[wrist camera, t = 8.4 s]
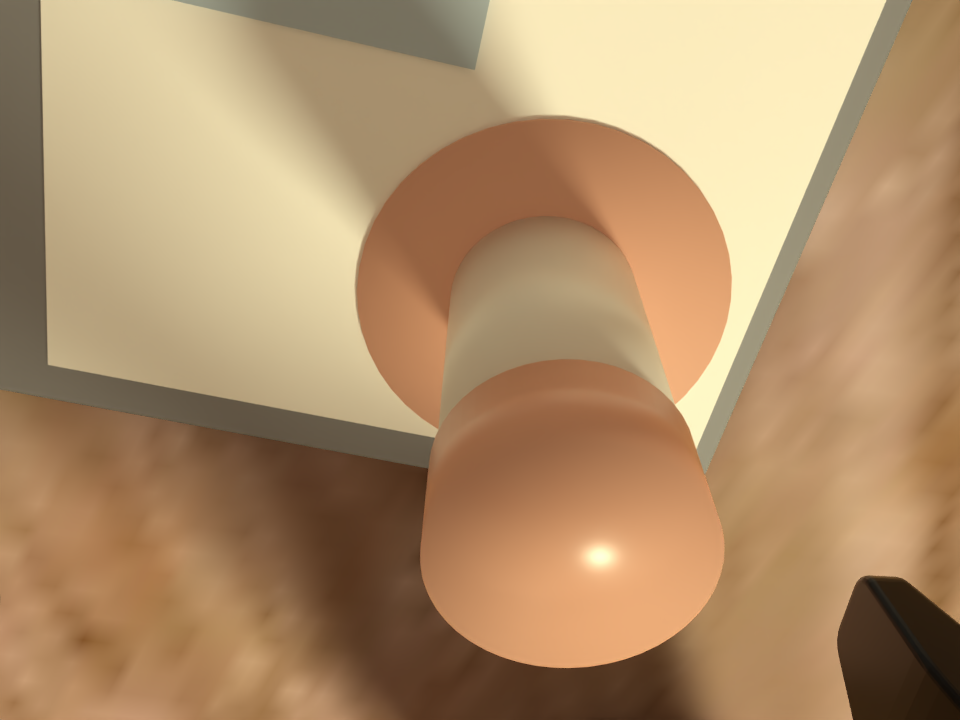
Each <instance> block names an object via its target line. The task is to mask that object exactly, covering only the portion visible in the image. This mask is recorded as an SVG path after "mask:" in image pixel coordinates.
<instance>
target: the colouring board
mask: <svg viewBox="0 0 960 720" xmlns="http://www.w3.org/2000/svg"><path fill="white" fill-rule="evenodd" d="M911 2H912V0H0V389H1V390H6V391H12V392H17V393H22V394H28V395H33V396H39V397H44V398H49V399H55V400H60V401H66V402H71V403H76V404H82V405H87V406H93V407H98V408H104V409H109V410H114V411H120V412H125V413H131V414H136V415H141V416H147V417H152V418H158V419H163V420H168V421H174V422H179V423H185V424H190V425H195V426H201V427H206V428H212V429H217V430H223V431H228V432H233V433H239V434H244V435H250V436H255V437H260V438H266V439H271V440H277V441H282V442H287V443H293V444H298V445H304V446H309V447H314V448H320V449H325V450H331V451H336V452H342V453H347V454H352V455H358V456H363V457H369V458H374V459H379V460H385V461H390V462H396V463H401V464H406V465H412V466H417V467H423V468H428V467H429V460H430V453H431V449H432V446H433V442H434V439H435V436H436V434H437V432H438V428H439V417H440V406H441V395H442V384H443V372H444V361H445V350H446V339H447V328H448V317H449V306H450V295H451V289H452V284H453V280H454V277H455V274H456V272H457V270H458V268H459V266H460V264H461V262H462V261H463V259H464V257H465V256H466V254H467V253H468V252H469V251H470V250H471V249H472V247H473V246H474V245H475V244H476V243H477V242H479V241H480V240H481V239H482V238H483V237H484V236H486V235H487V234H489V233H490V232H492V231H493V230H495V229H497V228H499V227H501V226H503V225H505V224H508V223H510V222H513V221H516V220H520V219H524V218H528V217H537V216H557V217H563V218H569V219H573V220H576V221H580V222H582V223H585V224H587V225H589V226H592V227H593V228H595V229H597V230H598V231H600V232H602V233H603V234H604V235H606V236H607V237H608V238H609V239H611V240H612V241H613V242H614V243H615V244H616V246H617V247H618V248H619V249H620V250H621V251H622V253H623V254H624V256H625V257H626V259H627V261H628V263H629V265H630V267H631V269H632V272H633V275H634V278H635V281H636V284H637V287H638V290H639V293H640V296H641V300H642V303H643V306H644V309H645V312H646V315H647V318H648V322H649V325H650V328H651V331H652V334H653V337H654V340H655V343H656V347H657V350H658V353H659V356H660V359H661V362H662V365H663V369H664V372H665V375H666V378H667V381H668V384H669V387H670V391H671V394H672V397H673V400H674V403H675V406H676V407H677V409H678V410H679V411H680V413H681V414H682V416H683V417H684V419H685V421H686V423H687V425H688V427H689V429H690V432H691V435H692V438H693V441H694V444H695V447H696V450H697V453H698V456H699V459H700V462H701V465H702V468H703V471H704V474H705V473H706V471H707V469H708V466H709V464H710V462H711V460H712V457H713V455H714V453H715V450H716V448H717V446H718V444H719V441H720V439H721V437H722V434H723V432H724V430H725V428H726V425H727V423H728V421H729V418H730V416H731V414H732V412H733V409H734V407H735V405H736V402H737V400H738V398H739V396H740V393H741V391H742V389H743V386H744V384H745V382H746V380H747V377H748V375H749V373H750V370H751V368H752V366H753V363H754V361H755V359H756V357H757V354H758V352H759V350H760V347H761V345H762V343H763V341H764V338H765V336H766V334H767V331H768V329H769V327H770V325H771V322H772V320H773V318H774V315H775V313H776V311H777V309H778V306H779V304H780V302H781V299H782V297H783V295H784V293H785V290H786V288H787V286H788V283H789V281H790V279H791V277H792V274H793V272H794V270H795V267H796V265H797V263H798V261H799V258H800V256H801V254H802V251H803V249H804V247H805V245H806V242H807V240H808V238H809V235H810V233H811V231H812V229H813V226H814V224H815V222H816V219H817V217H818V215H819V213H820V210H821V208H822V206H823V203H824V201H825V199H826V197H827V194H828V192H829V190H830V187H831V185H832V183H833V181H834V178H835V176H836V174H837V171H838V169H839V167H840V165H841V162H842V160H843V158H844V155H845V153H846V151H847V149H848V146H849V144H850V142H851V139H852V137H853V135H854V133H855V130H856V128H857V126H858V123H859V121H860V119H861V116H862V114H863V112H864V110H865V107H866V105H867V103H868V100H869V98H870V96H871V94H872V91H873V89H874V87H875V84H876V82H877V80H878V78H879V75H880V73H881V71H882V68H883V66H884V64H885V62H886V59H887V57H888V55H889V52H890V50H891V48H892V46H893V43H894V41H895V39H896V36H897V34H898V32H899V30H900V27H901V25H902V23H903V20H904V18H905V16H906V14H907V11H908V9H909V7H910V4H911Z"/></svg>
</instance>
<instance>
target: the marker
mask: <svg viewBox="0 0 960 720" xmlns="http://www.w3.org/2000/svg"><path fill="white" fill-rule="evenodd" d="M724 544H725V543H724V536H723V530H722V526H721V523H720V520H719V517H718V514H717V511H716V508H715V505H714V502H713V499H712V495H711V492H710V489H709V486H708V483H707V480H706V477H705V474H704V471H703V468H702V465H701V462H700V459H699V456H698V453H697V450H696V447H695V444H694V441H693V438H692V435H691V432H690V429H689V427H688V425H687V423H686V421H685V419H684V417H683V416H682V414H681V413H680V411H679V410H678V409H677V407H676V406H675V403H674V400H673V397H672V394H671V391H670V387H669V384H668V381H667V378H666V375H665V372H664V369H663V365H662V362H661V359H660V356H659V353H658V350H657V347H656V343H655V340H654V337H653V334H652V331H651V328H650V325H649V322H648V318H647V315H646V312H645V309H644V306H643V303H642V300H641V296H640V293H639V290H638V287H637V284H636V281H635V278H634V275H633V272H632V269H631V267H630V265H629V263H628V261H627V259H626V257H625V256H624V254H623V253H622V251H621V250H620V249H619V248H618V247H617V246H616V244H615V243H614V242H613V241H612V240H611V239H609V238H608V237H607V236H606V235H604V234H603V233H602V232H600V231H598V230H597V229H595V228H593V227H592V226H589V225H587V224H585V223H582V222H580V221H576V220H573V219H569V218H563V217H557V216H537V217H528V218H524V219H520V220H516V221H513V222H510V223H508V224H505V225H503V226H501V227H499V228H497V229H495V230H493V231H492V232H490V233H489V234H487V235H486V236H484V237H483V238H482V239H481V240H480V241H479V242H477V243H476V244H475V245H474V246H473V247H472V249H471V250H470V251H469V252H468V253H467V254H466V256H465V257H464V259H463V261H462V262H461V264H460V266H459V268H458V270H457V272H456V274H455V277H454V280H453V284H452V289H451V295H450V306H449V317H448V328H447V339H446V350H445V361H444V372H443V384H442V395H441V406H440V417H439V428H438V432H437V434H436V436H435V439H434V442H433V446H432V449H431V453H430V460H429V467H428V477H427V487H426V497H425V507H424V517H423V527H422V537H421V547H420V567H421V572H422V578H423V582H424V585H425V587H426V590H427V593H428V595H429V597H430V599H431V601H432V602H433V604H434V606H435V608H436V609H437V610H438V612H439V613H440V614H441V615H442V617H443V618H444V619H445V621H446V622H448V623H449V624H450V625H451V626H452V627H453V628H454V629H455V630H456V631H457V632H458V633H460V634H461V635H462V636H464V637H465V638H466V639H468V640H469V641H470V642H472V643H474V644H476V645H477V646H479V647H481V648H483V649H484V650H487V651H489V652H491V653H493V654H496V655H498V656H500V657H504V658H507V659H510V660H513V661H516V662H520V663H525V664H530V665H535V666H543V667H552V668H578V667H591V666H597V665H603V664H609V663H612V662H616V661H620V660H624V659H627V658H630V657H633V656H635V655H638V654H641V653H643V652H645V651H647V650H650V649H652V648H654V647H656V646H658V645H660V644H661V643H663V642H664V641H666V640H668V639H669V638H671V637H673V636H674V635H675V634H676V633H678V632H679V631H680V630H682V629H683V628H684V627H685V626H687V625H688V624H689V623H690V622H691V621H692V620H693V619H694V618H695V617H696V616H697V615H698V613H699V612H700V611H701V610H702V608H703V607H704V606H705V604H706V603H707V602H708V600H709V598H710V597H711V595H712V593H713V591H714V590H715V588H716V585H717V583H718V580H719V577H720V575H721V571H722V566H723V561H724Z"/></svg>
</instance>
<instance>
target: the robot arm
mask: <svg viewBox="0 0 960 720" xmlns="http://www.w3.org/2000/svg"><path fill="white" fill-rule="evenodd" d="M837 646H838V654H839V659H840V663H841V668H842V672H843V677H844V681H845V686H846V690H847V694H848V699H849V703H850V708H851V712H852V717H853V720H960V624H959V623H958V622H956V621H955V620H954V619H953V618H951V617H950V616H949V615H948V614H947V613H945V612H944V611H943V610H942V609H940V608H939V607H938V606H937V605H936V604H934V603H933V602H932V601H931V600H929V599H928V598H927V597H926V596H925V595H923V594H922V593H921V592H920V591H918V590H917V589H916V588H915V587H913V586H912V585H911V584H910V583H908V582H907V581H905V580H904V579H902V578H898V577H887V576H864V577H862V578H860V579H859V580H858V581H857V583H856V585H855V587H854V590H853V592H852V595H851V598H850V600H849V603H848V606H847V609H846V611H845V614H844V617H843V619H842V622H841V625H840V628H839V631H838V638H837Z"/></svg>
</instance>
